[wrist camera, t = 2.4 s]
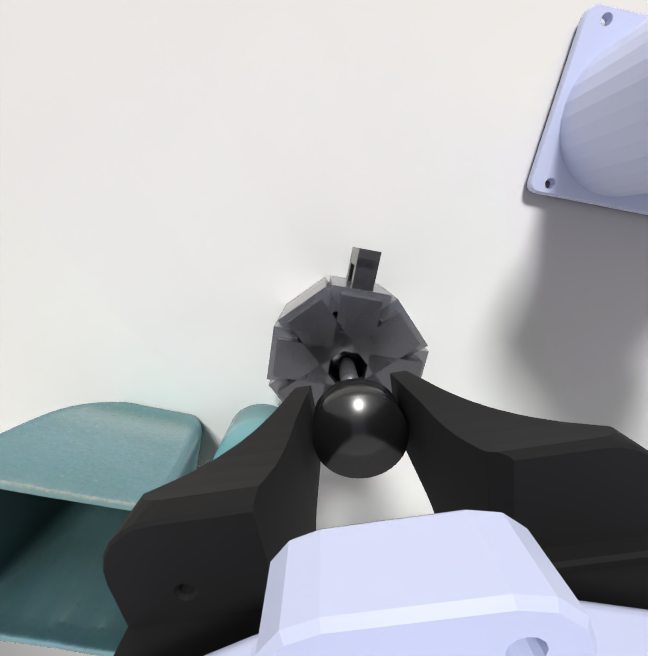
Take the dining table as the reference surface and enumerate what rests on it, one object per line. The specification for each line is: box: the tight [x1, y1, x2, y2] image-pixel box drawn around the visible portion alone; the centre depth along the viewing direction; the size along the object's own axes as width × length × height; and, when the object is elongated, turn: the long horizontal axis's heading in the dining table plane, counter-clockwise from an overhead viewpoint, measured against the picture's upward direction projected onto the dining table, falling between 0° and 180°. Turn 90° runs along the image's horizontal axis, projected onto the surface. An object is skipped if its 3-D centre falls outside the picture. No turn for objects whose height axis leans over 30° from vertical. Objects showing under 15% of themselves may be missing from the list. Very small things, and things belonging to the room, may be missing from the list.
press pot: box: [267, 247, 429, 406], centre depth 16 cm, size 8×9×4 cm
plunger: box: [313, 356, 409, 478], centre depth 12 cm, size 3×3×6 cm
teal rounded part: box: [212, 404, 278, 460], centre depth 19 cm, size 5×5×4 cm
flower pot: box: [0, 402, 202, 656], centre depth 16 cm, size 9×9×9 cm
